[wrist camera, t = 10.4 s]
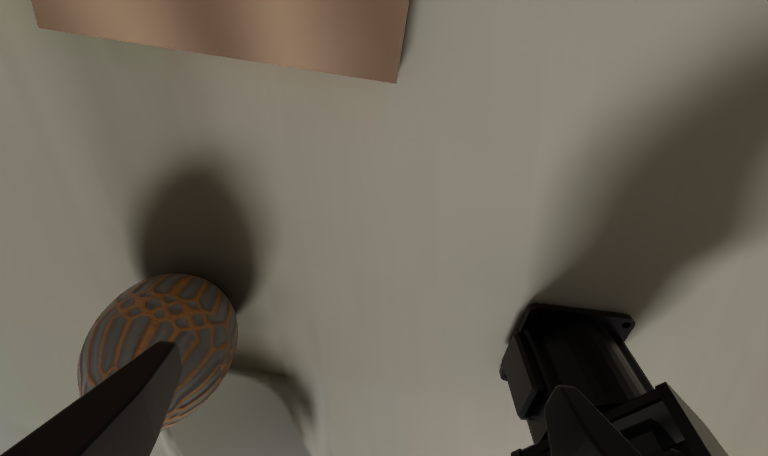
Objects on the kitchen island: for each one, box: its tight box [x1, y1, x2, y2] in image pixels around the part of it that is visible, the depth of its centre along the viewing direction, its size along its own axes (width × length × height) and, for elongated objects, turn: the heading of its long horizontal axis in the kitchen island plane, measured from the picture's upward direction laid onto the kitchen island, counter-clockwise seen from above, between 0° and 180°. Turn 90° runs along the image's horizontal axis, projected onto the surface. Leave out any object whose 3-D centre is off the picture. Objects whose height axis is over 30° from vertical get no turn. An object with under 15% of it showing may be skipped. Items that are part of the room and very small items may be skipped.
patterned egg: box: [77, 273, 238, 432], centre depth 21 cm, size 7×7×9 cm
